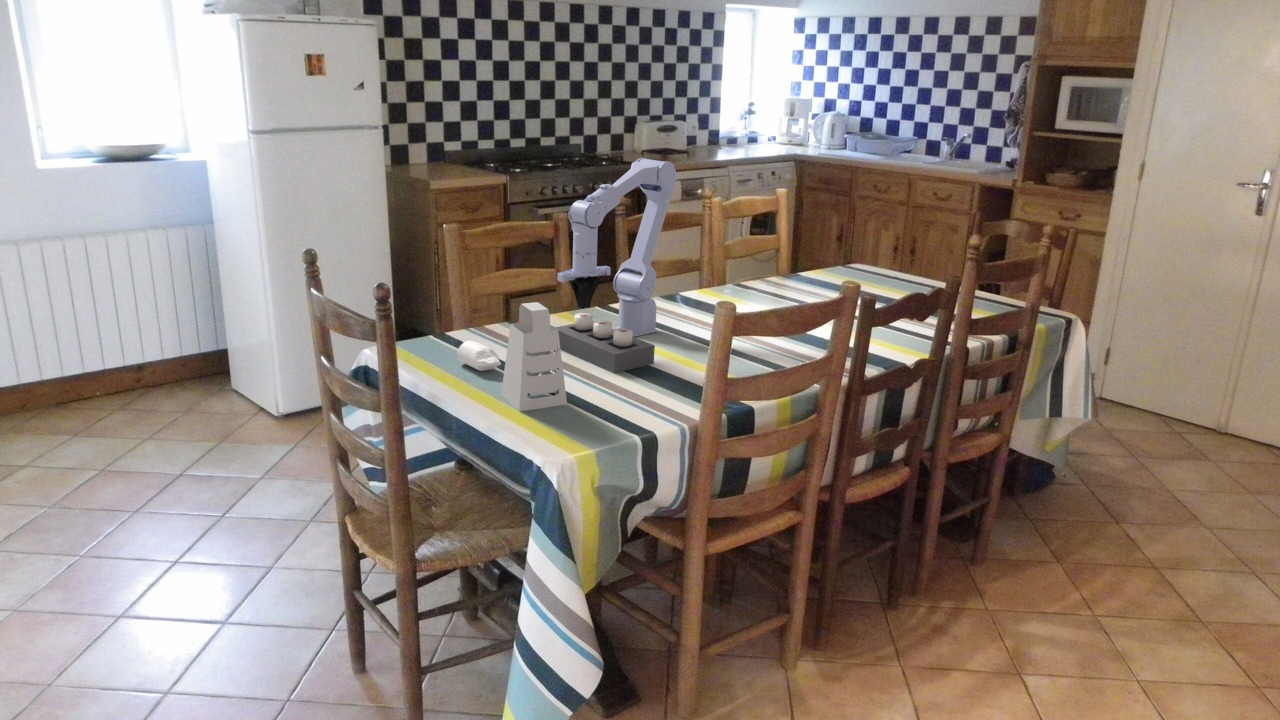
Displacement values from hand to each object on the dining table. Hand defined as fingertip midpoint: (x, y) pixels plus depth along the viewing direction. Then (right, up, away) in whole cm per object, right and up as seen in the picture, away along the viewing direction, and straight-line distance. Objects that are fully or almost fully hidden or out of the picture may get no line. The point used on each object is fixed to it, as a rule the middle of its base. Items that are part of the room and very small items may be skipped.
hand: (583, 307), depth 227 cm
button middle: (+5, -7, -4) cm, 9 cm away
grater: (-8, -21, -32) cm, 39 cm away
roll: (-22, -15, -16) cm, 31 cm away
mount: (+4, -11, -2) cm, 12 cm away
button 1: (0, -5, +2) cm, 5 cm away
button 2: (+10, -9, -9) cm, 16 cm away
